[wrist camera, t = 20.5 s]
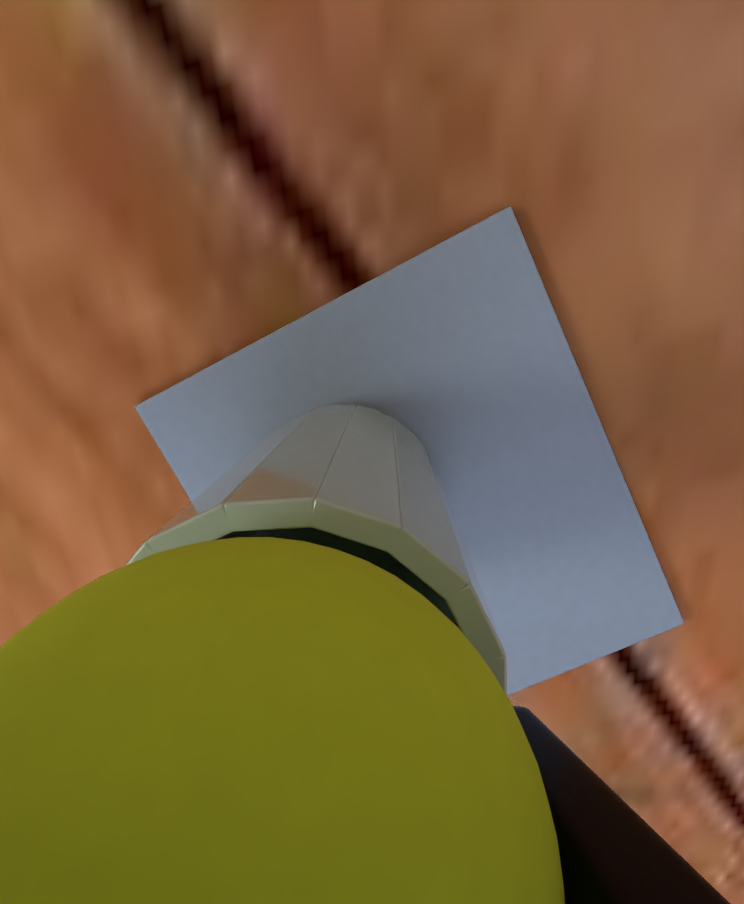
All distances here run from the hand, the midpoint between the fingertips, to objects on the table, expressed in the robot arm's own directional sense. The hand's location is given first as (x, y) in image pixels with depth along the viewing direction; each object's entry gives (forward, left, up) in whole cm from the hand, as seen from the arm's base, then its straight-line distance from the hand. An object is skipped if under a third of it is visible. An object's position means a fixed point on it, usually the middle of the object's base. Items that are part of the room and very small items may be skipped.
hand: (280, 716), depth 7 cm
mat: (-2, -2, -11) cm, 12 cm away
